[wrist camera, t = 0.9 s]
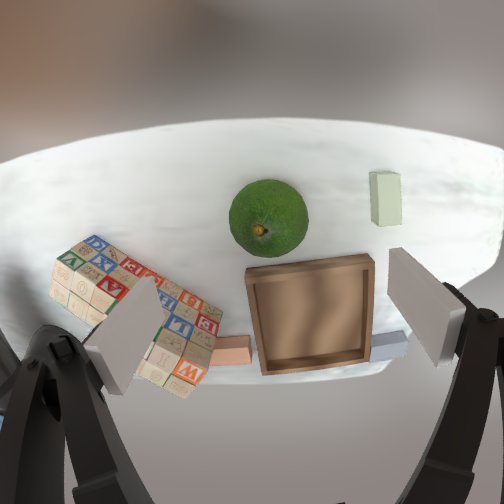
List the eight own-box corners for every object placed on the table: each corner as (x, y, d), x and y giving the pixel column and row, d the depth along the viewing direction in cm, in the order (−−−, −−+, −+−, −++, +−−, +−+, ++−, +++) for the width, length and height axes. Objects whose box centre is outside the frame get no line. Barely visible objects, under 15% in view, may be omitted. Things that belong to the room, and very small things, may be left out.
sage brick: (392, 218, 34) (401, 224, 32) (370, 220, 35) (379, 226, 32) (390, 171, 32) (400, 173, 30) (368, 172, 33) (377, 174, 30)
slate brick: (364, 350, 41) (369, 363, 39) (366, 335, 40) (371, 347, 38) (398, 345, 41) (405, 356, 38) (401, 329, 40) (408, 340, 37)
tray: (262, 362, 43) (262, 375, 40) (246, 268, 37) (244, 278, 35) (363, 349, 41) (368, 361, 38) (367, 253, 36) (374, 262, 33)
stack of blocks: (83, 267, 39) (34, 306, 28) (94, 233, 37) (40, 266, 26) (204, 341, 42) (185, 401, 30) (224, 311, 40) (208, 371, 28)
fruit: (279, 162, 33) (284, 168, 21) (314, 218, 35) (336, 252, 23) (222, 198, 35) (200, 224, 23) (259, 252, 37) (255, 299, 25)
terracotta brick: (213, 353, 43) (209, 365, 40) (208, 337, 42) (205, 350, 39) (252, 350, 42) (251, 363, 39) (249, 334, 41) (247, 347, 38)
